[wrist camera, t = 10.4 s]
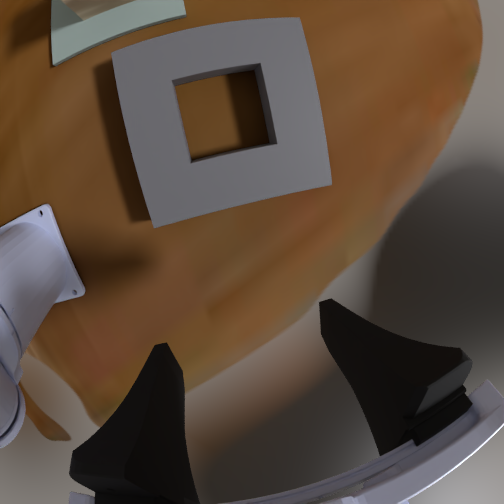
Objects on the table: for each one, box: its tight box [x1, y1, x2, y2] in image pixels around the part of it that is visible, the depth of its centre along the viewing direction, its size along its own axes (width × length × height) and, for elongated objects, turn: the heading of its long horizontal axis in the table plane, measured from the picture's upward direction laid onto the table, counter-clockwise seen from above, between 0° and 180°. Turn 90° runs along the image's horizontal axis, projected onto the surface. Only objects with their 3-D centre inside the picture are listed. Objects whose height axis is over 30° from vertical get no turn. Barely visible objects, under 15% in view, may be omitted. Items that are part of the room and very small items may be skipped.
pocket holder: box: [111, 18, 332, 228], centre depth 15 cm, size 12×12×2 cm
